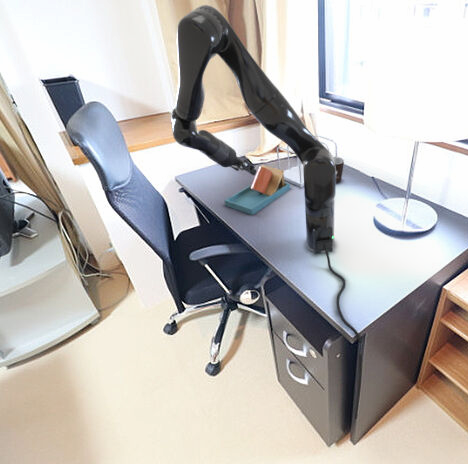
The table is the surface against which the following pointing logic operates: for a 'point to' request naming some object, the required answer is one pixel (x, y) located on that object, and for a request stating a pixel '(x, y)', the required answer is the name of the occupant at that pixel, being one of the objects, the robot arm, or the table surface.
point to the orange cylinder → (261, 180)
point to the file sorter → (297, 167)
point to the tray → (253, 199)
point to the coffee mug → (338, 168)
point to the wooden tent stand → (274, 180)
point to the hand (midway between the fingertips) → (246, 170)
